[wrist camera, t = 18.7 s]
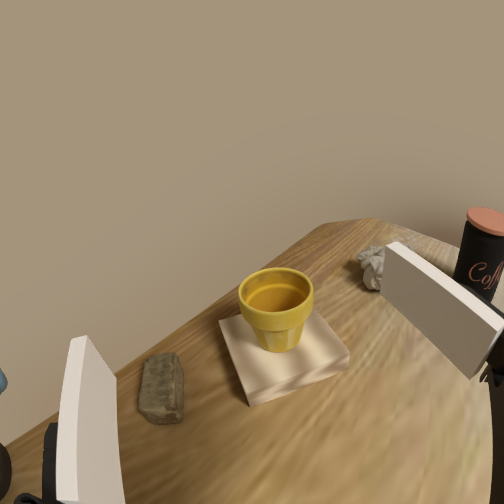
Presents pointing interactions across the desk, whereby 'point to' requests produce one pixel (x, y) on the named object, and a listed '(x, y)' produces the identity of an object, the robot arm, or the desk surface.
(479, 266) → the coffee jar
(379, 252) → the mineral
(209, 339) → the desk surface
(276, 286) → the plant pot
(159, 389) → the stone block
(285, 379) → the birch block
